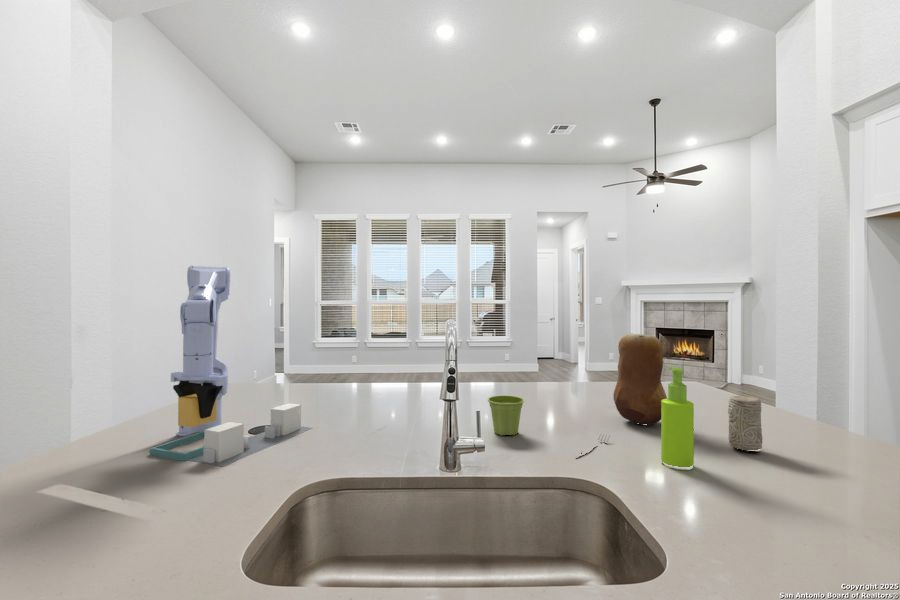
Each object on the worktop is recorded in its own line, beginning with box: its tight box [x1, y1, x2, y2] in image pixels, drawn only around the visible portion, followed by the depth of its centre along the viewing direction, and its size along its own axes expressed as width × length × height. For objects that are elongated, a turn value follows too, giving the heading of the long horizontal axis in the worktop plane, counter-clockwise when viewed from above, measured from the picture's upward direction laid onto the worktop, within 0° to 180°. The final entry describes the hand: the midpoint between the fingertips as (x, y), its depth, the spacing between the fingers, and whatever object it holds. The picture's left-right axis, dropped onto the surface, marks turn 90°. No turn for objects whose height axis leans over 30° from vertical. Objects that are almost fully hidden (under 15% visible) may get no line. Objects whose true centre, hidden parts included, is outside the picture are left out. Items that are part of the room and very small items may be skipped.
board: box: [187, 423, 313, 468], centre depth 96 cm, size 9×27×4 cm, turn 160°
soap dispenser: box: [660, 366, 695, 467], centre depth 88 cm, size 6×7×20 cm
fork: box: [580, 433, 610, 454], centre depth 97 cm, size 3×16×2 cm, turn 138°
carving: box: [727, 395, 764, 451], centre depth 97 cm, size 6×8×12 cm
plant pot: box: [487, 394, 525, 436], centre depth 109 cm, size 9×9×9 cm
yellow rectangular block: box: [177, 394, 216, 427], centre depth 93 cm, size 4×6×6 cm, turn 160°
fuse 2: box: [270, 403, 302, 435], centre depth 105 cm, size 4×6×6 cm, turn 160°
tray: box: [149, 431, 205, 462], centre depth 93 cm, size 10×14×3 cm
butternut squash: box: [613, 332, 668, 426], centre depth 118 cm, size 14×13×25 cm
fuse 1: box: [203, 421, 245, 462], centre depth 88 cm, size 4×6×6 cm, turn 160°
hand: (197, 416), depth 93 cm, fingers closed on yellow rectangular block, 4 cm apart
